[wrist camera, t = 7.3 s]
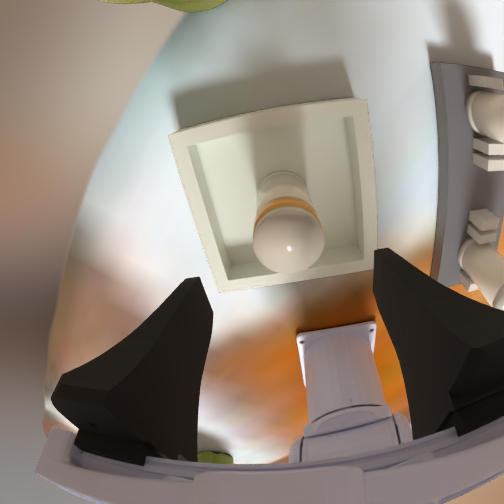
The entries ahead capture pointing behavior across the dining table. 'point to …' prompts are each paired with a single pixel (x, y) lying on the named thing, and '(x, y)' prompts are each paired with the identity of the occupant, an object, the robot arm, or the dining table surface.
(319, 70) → the dining table surface
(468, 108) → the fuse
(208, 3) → the plant pot
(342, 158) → the tray
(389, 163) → the dining table surface
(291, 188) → the cylinder
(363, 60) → the dining table surface
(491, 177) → the fuse holder
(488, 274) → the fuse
